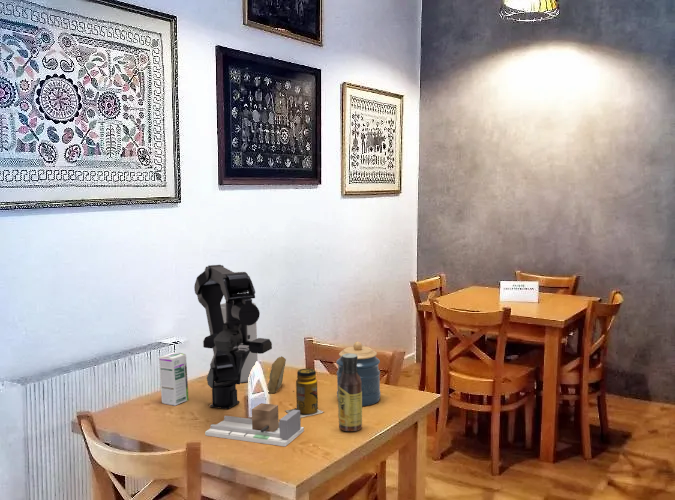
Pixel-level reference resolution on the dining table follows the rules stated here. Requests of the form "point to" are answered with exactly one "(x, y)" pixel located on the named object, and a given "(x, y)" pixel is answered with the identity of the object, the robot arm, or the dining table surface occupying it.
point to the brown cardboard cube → (265, 417)
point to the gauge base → (243, 430)
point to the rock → (276, 374)
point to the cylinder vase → (251, 356)
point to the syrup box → (173, 378)
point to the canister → (364, 372)
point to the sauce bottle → (350, 395)
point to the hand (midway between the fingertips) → (238, 373)
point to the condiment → (306, 393)
